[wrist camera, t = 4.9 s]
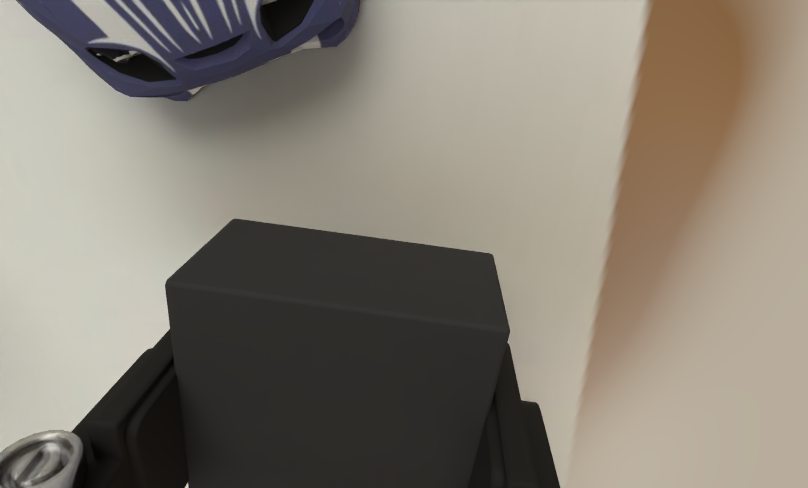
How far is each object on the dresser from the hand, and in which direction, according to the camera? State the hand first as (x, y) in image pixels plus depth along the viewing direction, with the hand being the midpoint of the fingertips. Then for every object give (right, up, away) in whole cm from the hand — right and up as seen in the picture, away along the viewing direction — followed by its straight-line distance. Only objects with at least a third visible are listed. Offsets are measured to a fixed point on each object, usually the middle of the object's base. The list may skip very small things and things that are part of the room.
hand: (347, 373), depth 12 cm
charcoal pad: (0, 0, +1) cm, 1 cm away
